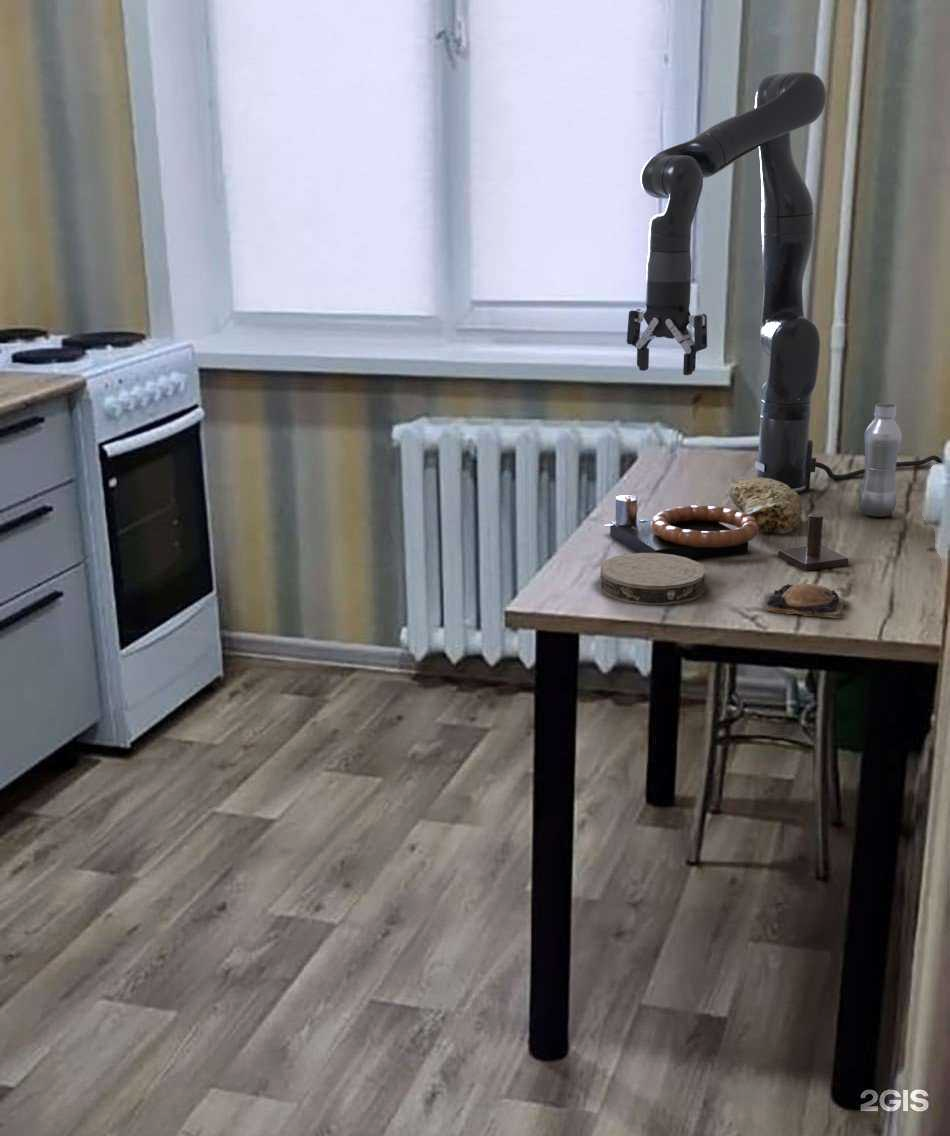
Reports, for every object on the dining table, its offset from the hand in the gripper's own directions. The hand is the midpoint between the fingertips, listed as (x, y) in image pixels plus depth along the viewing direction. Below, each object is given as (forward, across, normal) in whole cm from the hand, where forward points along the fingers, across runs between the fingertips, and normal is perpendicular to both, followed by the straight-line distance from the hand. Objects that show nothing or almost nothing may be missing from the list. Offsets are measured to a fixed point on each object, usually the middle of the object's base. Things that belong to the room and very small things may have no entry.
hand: (665, 372), depth 237 cm
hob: (+26, -9, +14) cm, 31 cm away
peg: (+26, -32, +9) cm, 43 cm away
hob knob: (+23, -1, +15) cm, 28 cm away
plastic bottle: (+26, -32, -21) cm, 47 cm away
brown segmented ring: (+22, -15, +13) cm, 29 cm away
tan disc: (+26, -17, +35) cm, 47 cm away
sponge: (+26, -16, -8) cm, 32 cm away
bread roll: (+26, -40, +30) cm, 56 cm away
